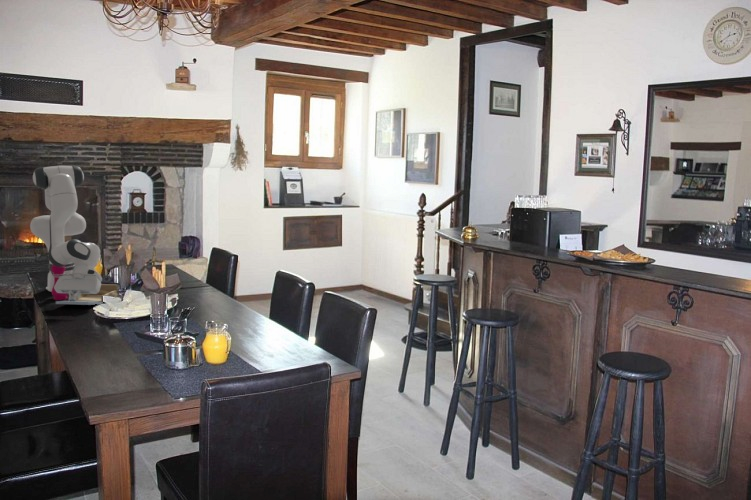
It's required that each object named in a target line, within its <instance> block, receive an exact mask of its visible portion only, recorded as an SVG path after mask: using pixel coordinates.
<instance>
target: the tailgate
mask: <svg viewBox="0 0 751 500" xmlns="http://www.w3.org/2000/svg"><path fill="white" fill-rule="evenodd" d="M99 303H102V304H104V303H103V302H95V301H69V300H55V305H79V306H80V305H81V306H85V305H86V306H87V305H88V306H91V305H95V304H97V305H100V304H99ZM95 306H96V305H95Z"/></svg>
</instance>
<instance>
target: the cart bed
mask: <svg viewBox="0 0 751 500" xmlns="http://www.w3.org/2000/svg"><path fill="white" fill-rule="evenodd" d="M76 294H77V293H74V294H73V295H72V296H75V295H76ZM103 296H113V297H115V298H117V297H119V284H109V283H108V284H106V283H105V284H104V283H101V287H100V290H99V292H98V293H97V294H81V296H80V297H78V298H77V300H76V301H95V302H103Z"/></svg>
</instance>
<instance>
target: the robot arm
mask: <svg viewBox="0 0 751 500" xmlns="http://www.w3.org/2000/svg"><path fill="white" fill-rule="evenodd" d="M32 174H33V175H32V181H33V183H34V184H33V185H35V187H36V188H37V189H39V190H44V203H45V206H46V209H48V210H49V211H50V214H49V215H48V214H47V215H46V214H45V215H39V216H36V217H33V218H32V219H31V221H30V225H29V227H30V228H29V229H30V232H31V233H32V234H33V235H34V236H35V237H37V238H39V239H40V240H41V241H42V242H43V243H44V244H45V246H46V249H47V256H48V259H49V260H48V261H49V263H48V271H49V272H48V273H47V286H46V287H45V290H47V291H48V292H51V293H52V288H53V286H54V277H53V274H54V273H53V272H52V271H51V268H52V266H53V265H55V266H57V267H64V266H65V271H64V275H62V276H60V277H59V279H58V281H57V282H56V284H55V286H54V289H55V291H56V292H57V293H68V298H67V299H68V300H67V301H76V300H77V298H78V297H80V296H81V294H97V293H98V292H99V290H100V287H101V284H102V281H103V278H102V275H101V274H100V273H99V272H98V271H97V270H95V269H96V267H97V266H98V263H99V261H100V256H101V249H100V247H99V245H97V244H96V243H94V242H83V241H81V240H79V239H77V238H72V239H69V240H67V241H65V237H67V236H76V235H80V234H83V233H84V232H85V230H86V228H87V222H86V219H85V217H83V216H82V215H81V214H79V213H77V210H78V203H79V201H78V200H79V199H78V195H77V190H76V188H78V187H81V186H82V185H83V184H84V180H85V174H84V172H83V170H82V168H81V167H80V166H78V165H54V166H53V165H52V166H44V167H43V166H40V167H37V168H35V169H34V171H33V173H32ZM74 294H76V295H75V296H72V295H74Z"/></svg>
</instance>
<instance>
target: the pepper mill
mask: <svg viewBox="0 0 751 500" xmlns="http://www.w3.org/2000/svg"><path fill="white" fill-rule="evenodd" d="M51 271H52V272H53V273H54V274H53V277H54V286H55V284H56V282H57V281H58V279H59V277H60V276H62V275H64V271H65V266H64V267H57V266H55V265H53V266H52V268H51ZM54 286H53V288H52V292H51V295H52V296H53V298H52V299H53V300H54V301H63V300H66V299H69V296H68V295H69V293H57V292H56V291H55V289H54Z"/></svg>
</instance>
